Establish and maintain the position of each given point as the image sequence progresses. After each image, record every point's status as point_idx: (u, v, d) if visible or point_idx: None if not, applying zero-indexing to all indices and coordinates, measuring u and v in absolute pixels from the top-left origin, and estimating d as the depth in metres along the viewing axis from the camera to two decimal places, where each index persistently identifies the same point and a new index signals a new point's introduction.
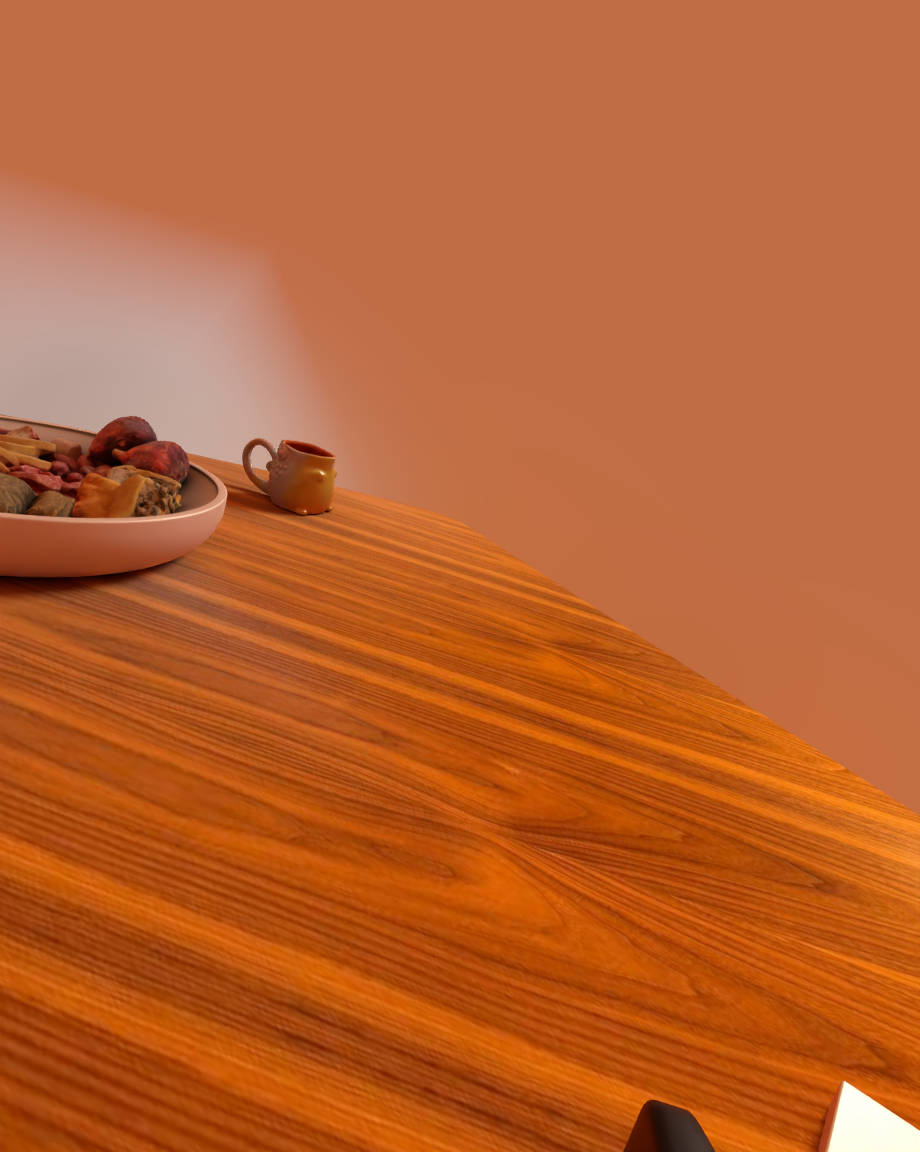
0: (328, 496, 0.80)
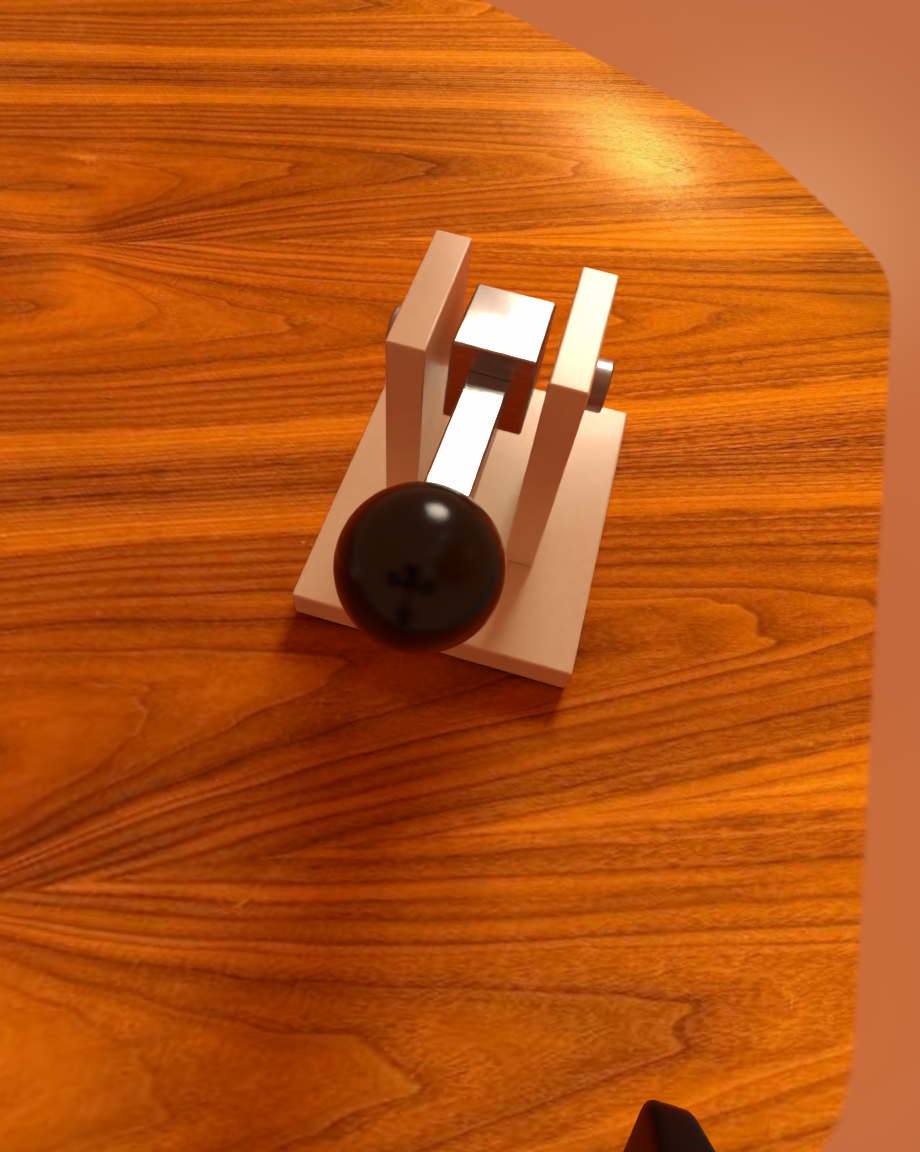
0: None
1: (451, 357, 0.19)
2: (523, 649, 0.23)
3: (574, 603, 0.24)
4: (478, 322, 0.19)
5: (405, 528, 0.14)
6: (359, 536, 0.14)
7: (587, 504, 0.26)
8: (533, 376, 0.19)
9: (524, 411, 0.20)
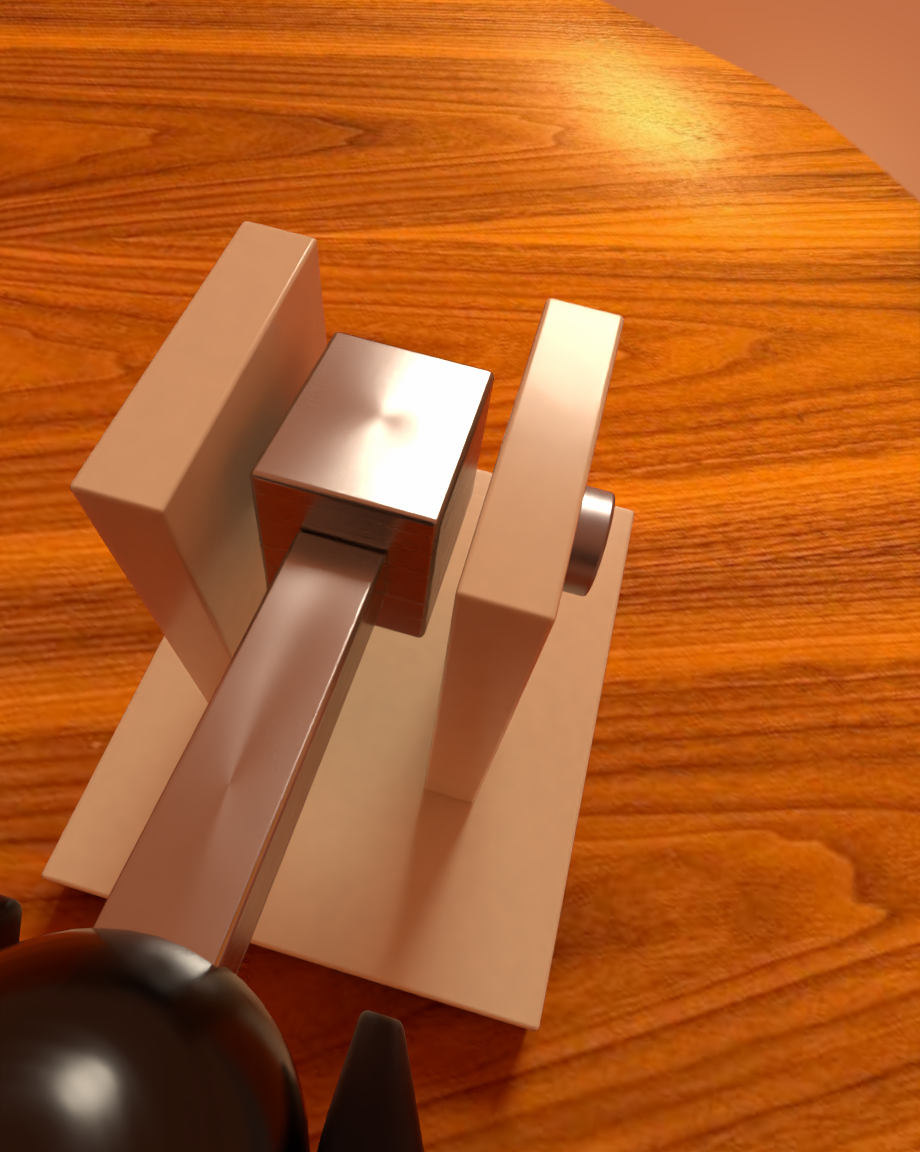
0: None
1: (255, 502, 0.09)
2: (452, 978, 0.13)
3: (545, 875, 0.14)
4: (318, 422, 0.09)
5: None
6: None
7: (570, 677, 0.16)
8: (435, 546, 0.08)
9: (425, 603, 0.09)
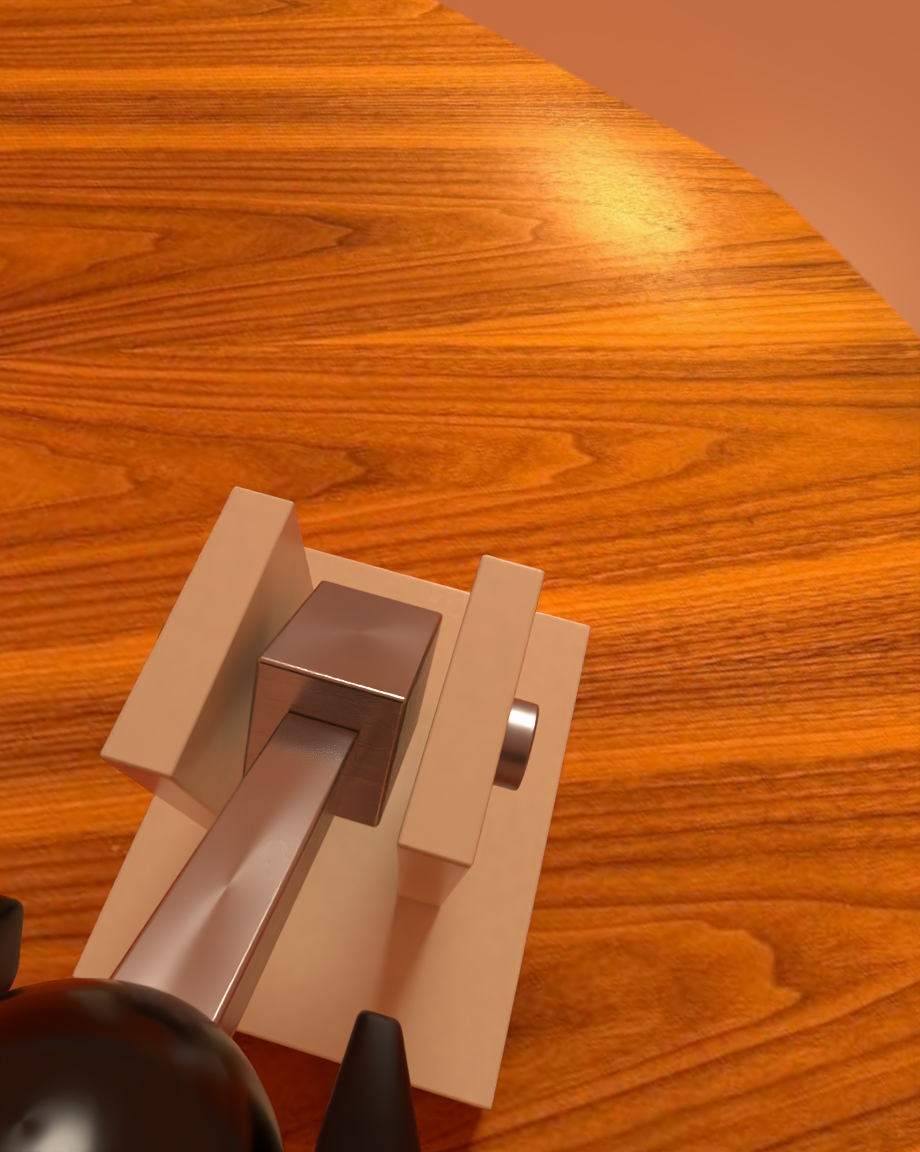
0: None
1: (255, 686, 0.11)
2: (418, 1065, 0.15)
3: (500, 972, 0.16)
4: (311, 631, 0.11)
5: None
6: None
7: (527, 788, 0.18)
8: (400, 723, 0.10)
9: (385, 786, 0.11)
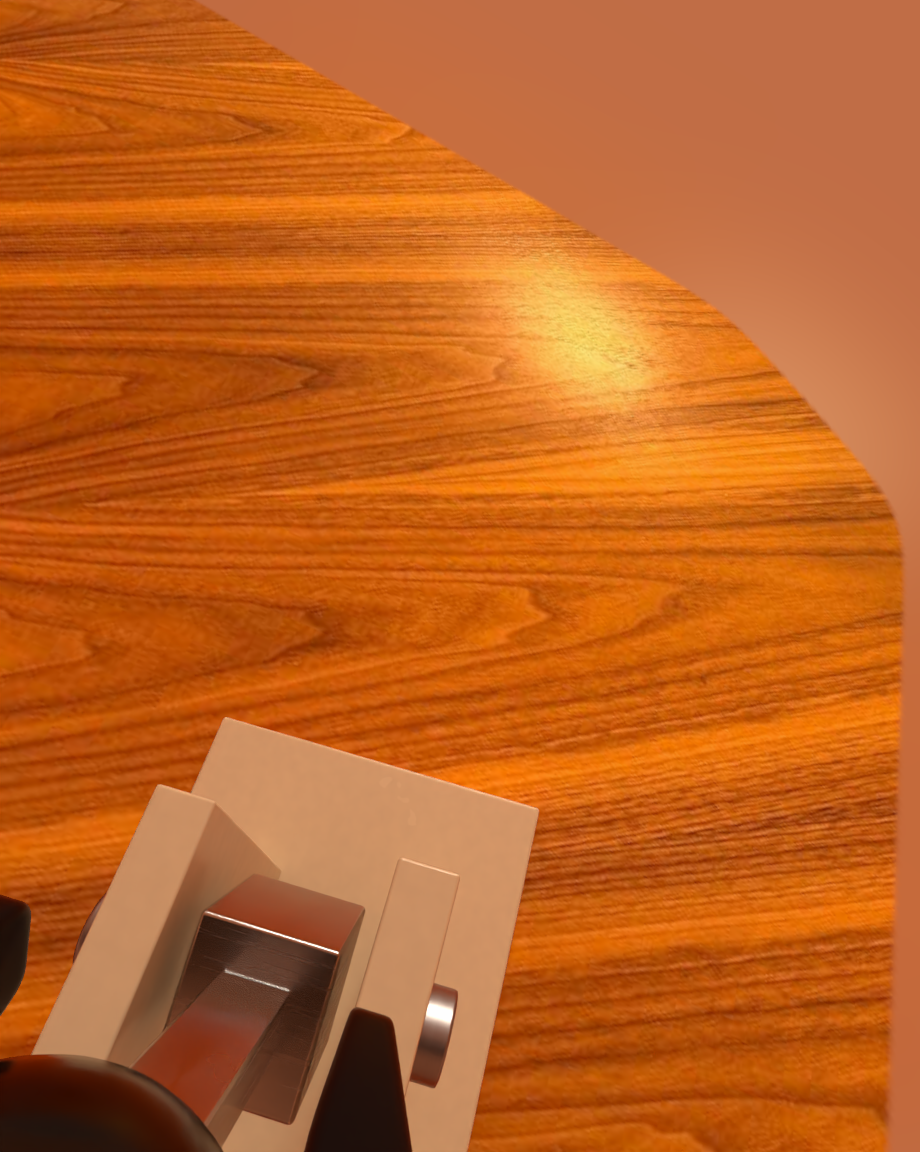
0: None
1: (194, 943, 0.11)
2: None
3: None
4: (249, 901, 0.12)
5: None
6: None
7: (471, 990, 0.18)
8: (332, 981, 0.11)
9: (307, 1063, 0.11)
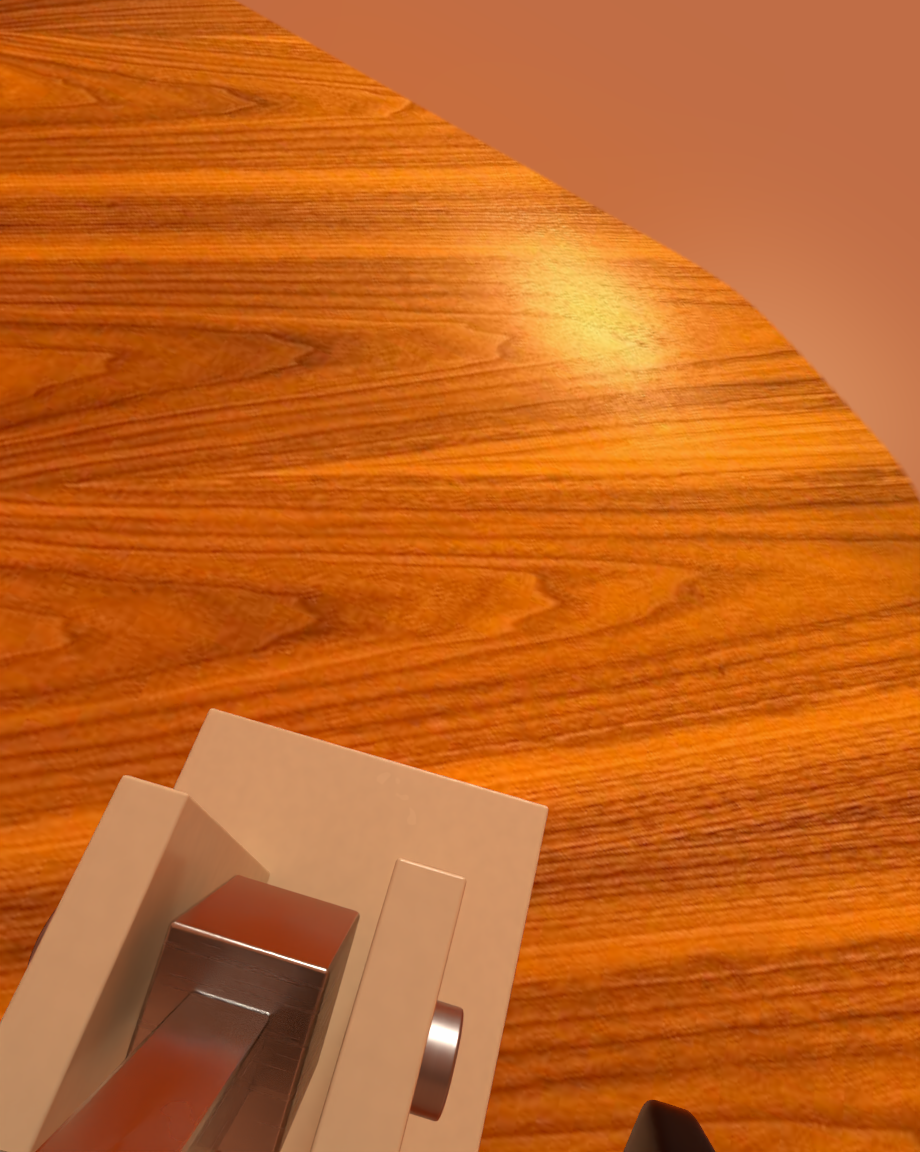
0: None
1: (160, 959, 0.10)
2: None
3: None
4: (226, 908, 0.11)
5: None
6: None
7: (476, 1004, 0.16)
8: (319, 1003, 0.10)
9: (290, 1097, 0.09)
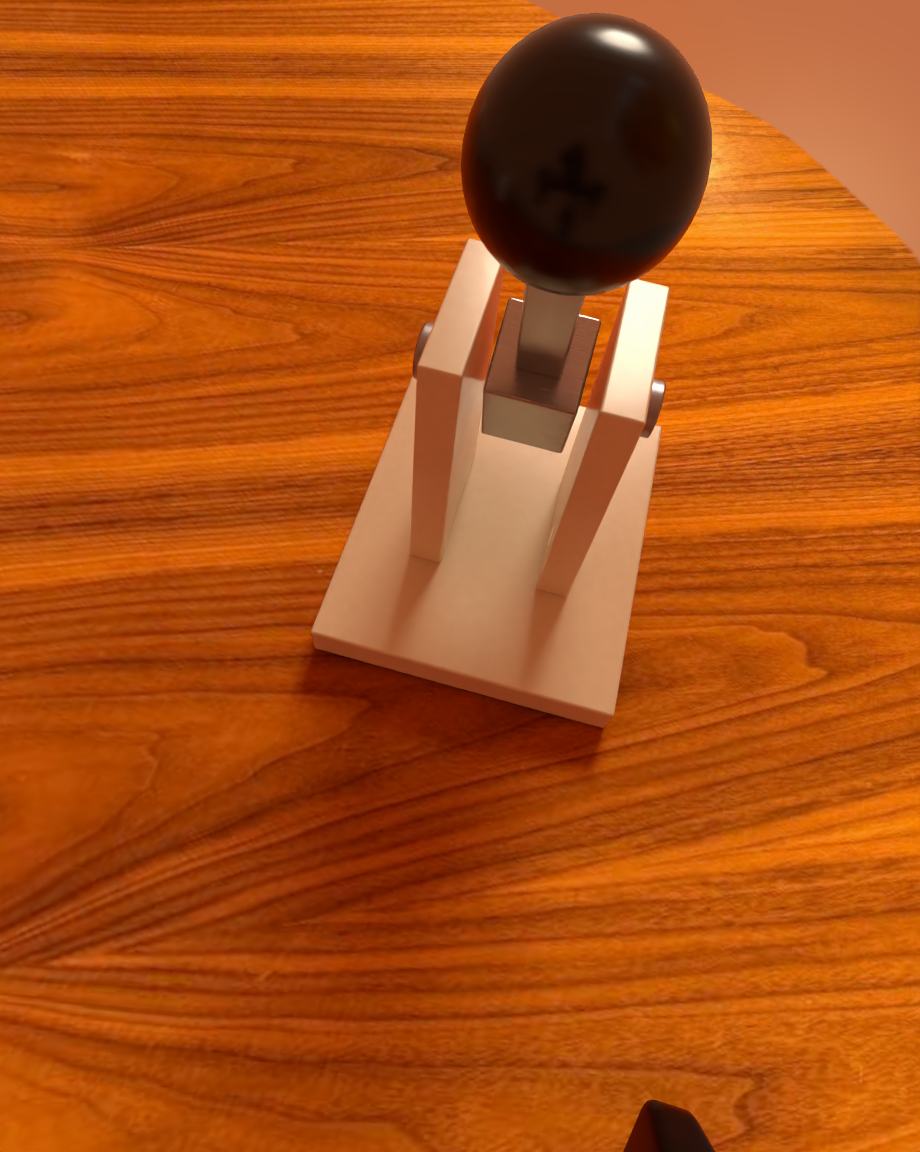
0: None
1: (506, 314, 0.17)
2: (561, 689, 0.21)
3: (613, 636, 0.22)
4: None
5: None
6: None
7: (623, 527, 0.24)
8: (596, 336, 0.17)
9: (584, 380, 0.17)
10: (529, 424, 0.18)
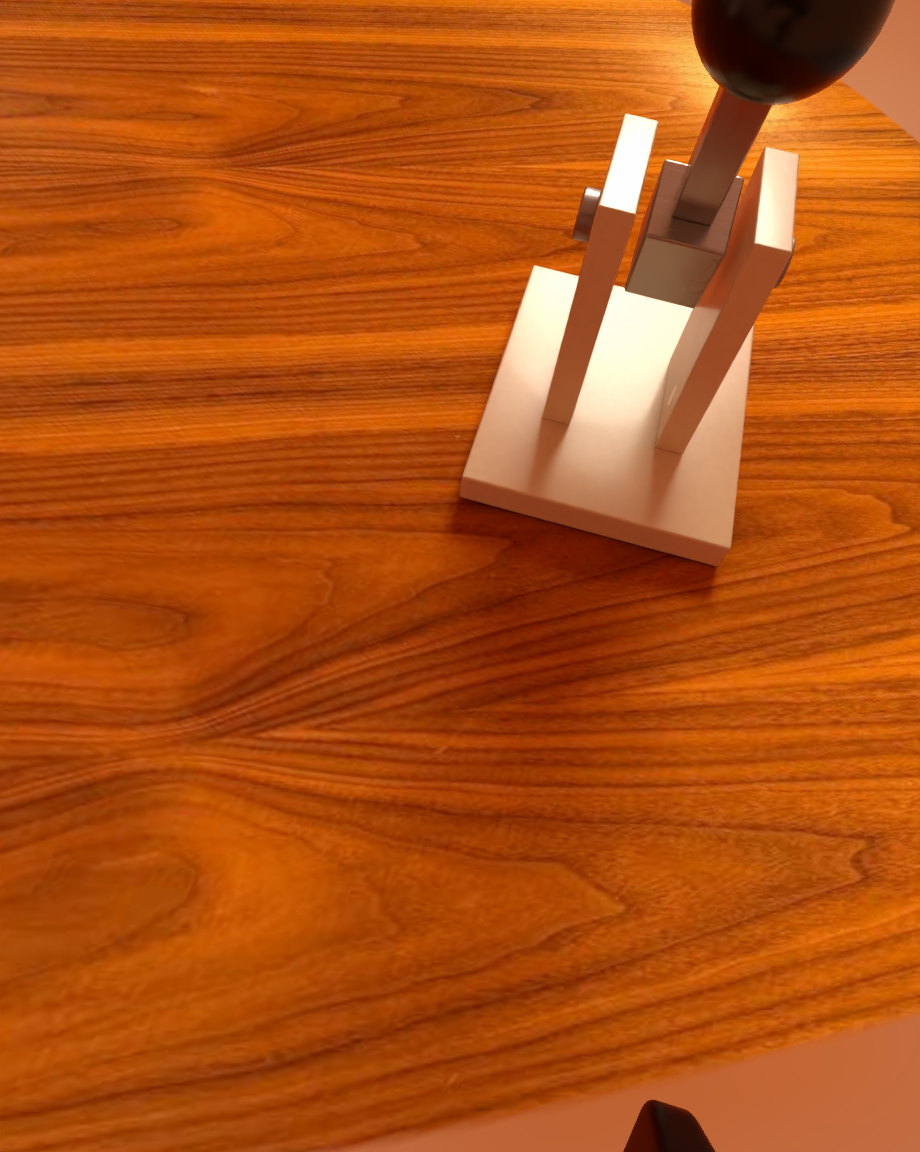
0: None
1: (663, 173, 0.20)
2: (683, 526, 0.24)
3: (726, 486, 0.25)
4: None
5: None
6: None
7: (727, 400, 0.27)
8: (740, 191, 0.20)
9: (731, 227, 0.20)
10: (676, 273, 0.21)
